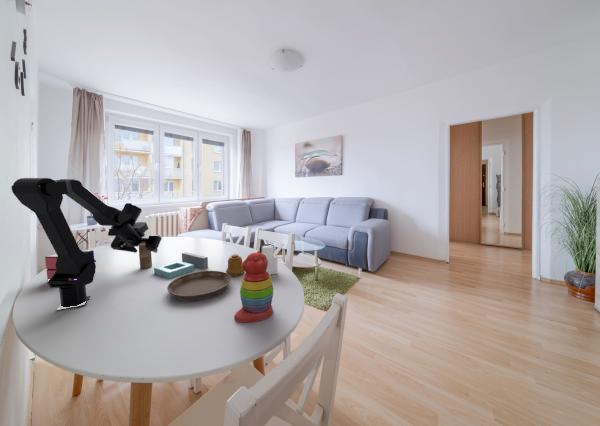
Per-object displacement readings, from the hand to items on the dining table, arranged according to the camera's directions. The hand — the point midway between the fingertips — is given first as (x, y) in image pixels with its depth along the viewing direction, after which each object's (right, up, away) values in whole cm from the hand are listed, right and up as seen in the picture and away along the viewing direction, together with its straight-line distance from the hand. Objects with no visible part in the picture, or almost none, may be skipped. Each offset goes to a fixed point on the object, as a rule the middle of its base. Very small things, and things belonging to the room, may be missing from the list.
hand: (146, 251), depth 104 cm
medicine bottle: (+56, -8, -6) cm, 57 cm away
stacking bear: (+57, -12, -38) cm, 69 cm away
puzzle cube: (-22, -9, -12) cm, 26 cm away
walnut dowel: (0, -7, 0) cm, 7 cm away
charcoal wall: (+21, -7, +3) cm, 22 cm away
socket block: (+16, -8, -6) cm, 19 cm away
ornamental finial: (+42, -8, -7) cm, 44 cm away
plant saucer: (+35, -10, -22) cm, 42 cm away
